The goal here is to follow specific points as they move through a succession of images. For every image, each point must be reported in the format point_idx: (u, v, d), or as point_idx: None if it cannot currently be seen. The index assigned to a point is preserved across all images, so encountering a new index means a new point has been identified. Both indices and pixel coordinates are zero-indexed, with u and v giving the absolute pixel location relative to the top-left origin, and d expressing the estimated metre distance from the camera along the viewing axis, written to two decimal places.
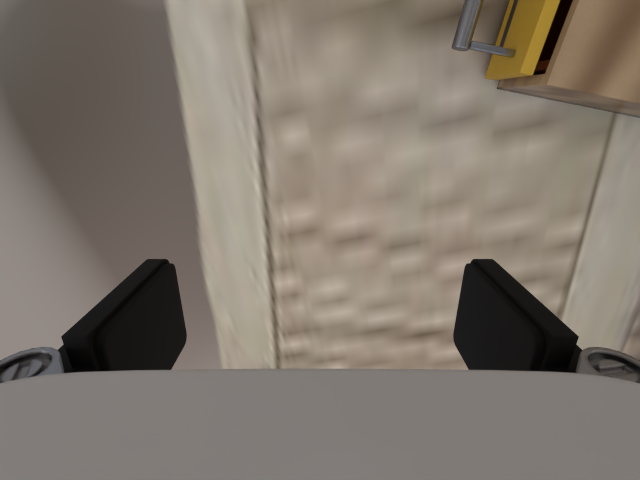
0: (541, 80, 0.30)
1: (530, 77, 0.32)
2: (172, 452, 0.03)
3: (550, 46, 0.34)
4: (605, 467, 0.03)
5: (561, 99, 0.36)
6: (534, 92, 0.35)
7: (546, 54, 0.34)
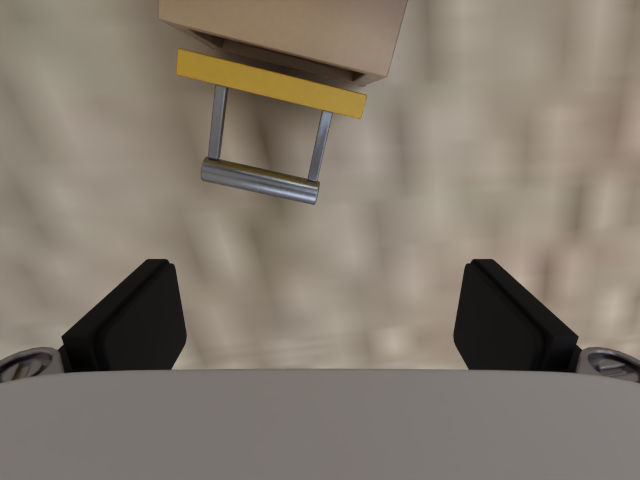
0: (376, 76, 0.17)
1: (364, 77, 0.19)
2: (173, 450, 0.03)
3: None
4: (605, 467, 0.03)
5: None
6: None
7: None
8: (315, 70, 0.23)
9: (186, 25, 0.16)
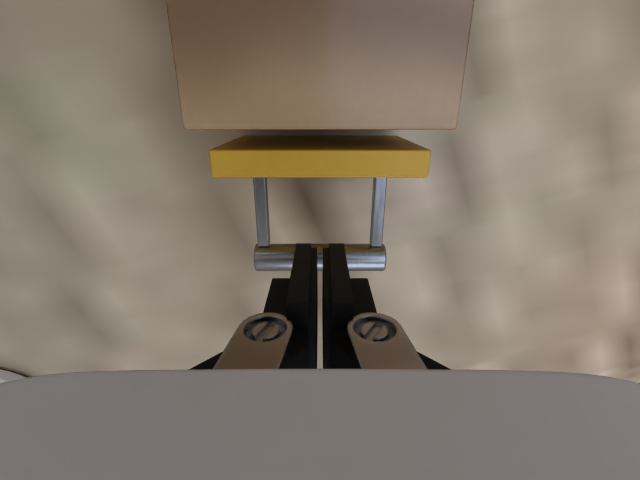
0: None
1: None
2: (172, 451, 0.03)
3: None
4: (605, 467, 0.03)
5: None
6: None
7: None
8: None
9: (216, 128, 0.14)
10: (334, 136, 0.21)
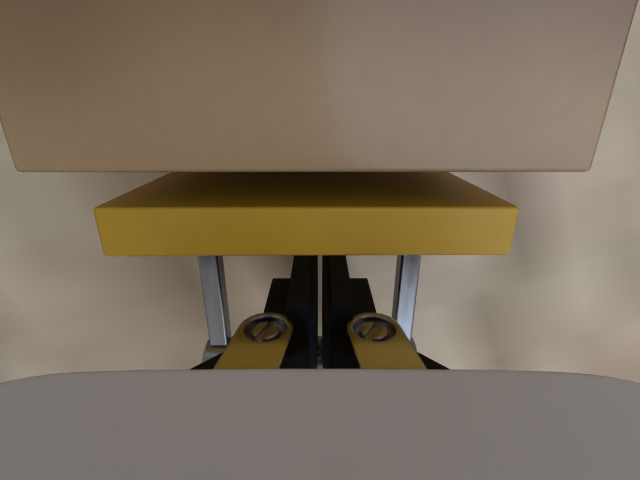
0: None
1: None
2: (173, 452, 0.03)
3: None
4: (605, 467, 0.03)
5: None
6: None
7: None
8: None
9: (86, 170, 0.06)
10: None
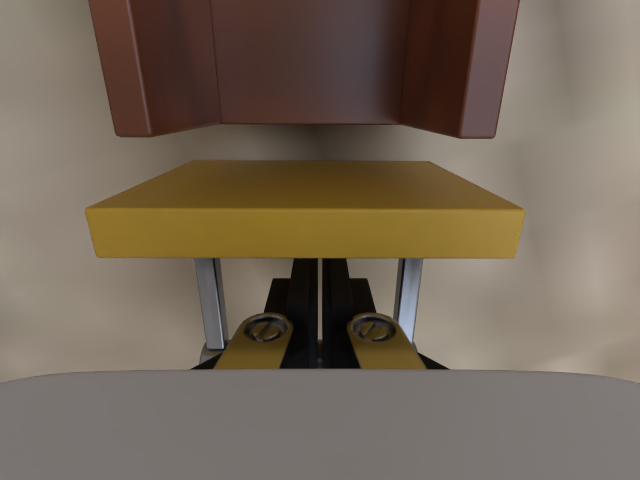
0: None
1: None
2: (172, 452, 0.03)
3: (343, 51, 0.11)
4: (605, 467, 0.03)
5: None
6: None
7: (364, 54, 0.11)
8: None
9: None
10: (333, 162, 0.13)
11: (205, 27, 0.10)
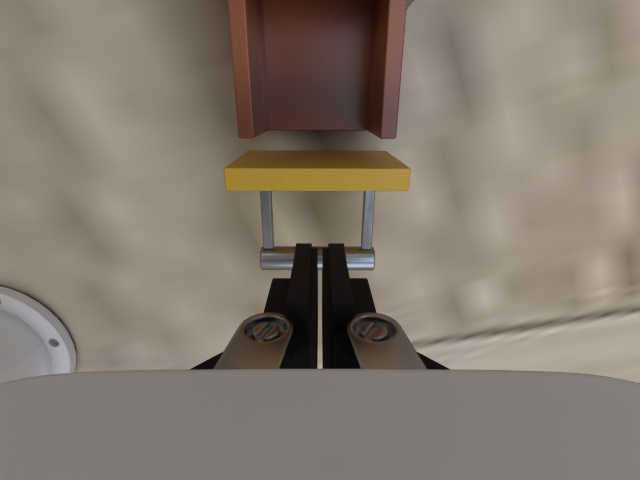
0: None
1: None
2: (172, 451, 0.03)
3: (335, 91, 0.22)
4: (605, 467, 0.03)
5: None
6: None
7: (346, 93, 0.22)
8: None
9: None
10: (330, 151, 0.23)
11: (265, 81, 0.21)
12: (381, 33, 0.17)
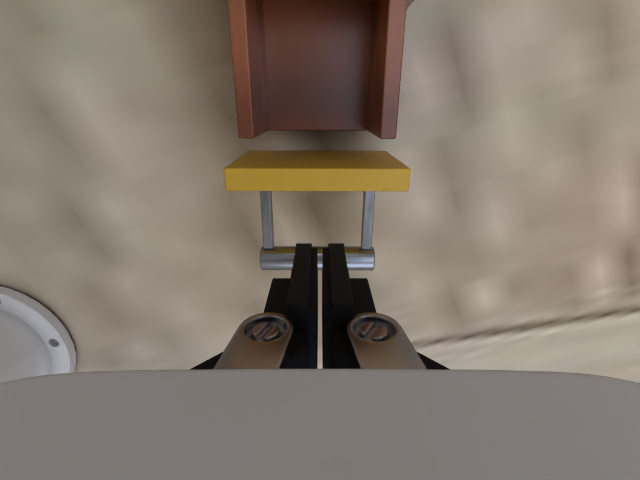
0: None
1: None
2: (172, 451, 0.03)
3: (335, 91, 0.22)
4: (605, 467, 0.03)
5: None
6: None
7: (346, 93, 0.22)
8: None
9: None
10: (330, 151, 0.24)
11: (264, 81, 0.21)
12: (381, 33, 0.17)
